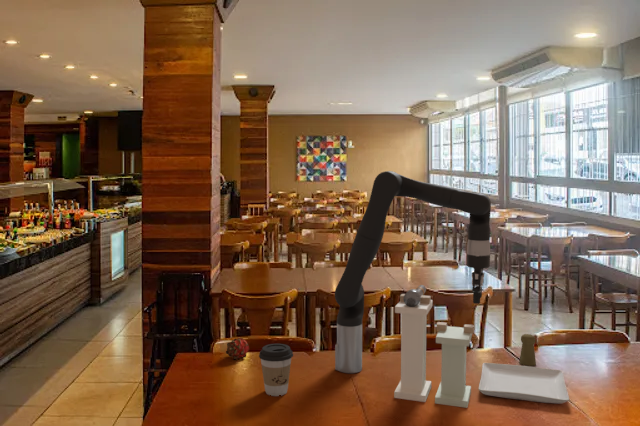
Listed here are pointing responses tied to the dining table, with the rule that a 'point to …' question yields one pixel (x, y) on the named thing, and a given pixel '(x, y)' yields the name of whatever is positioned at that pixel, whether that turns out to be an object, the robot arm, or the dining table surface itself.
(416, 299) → the grey bulb-ended bar
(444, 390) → the low stand
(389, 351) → the dining table surface
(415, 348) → the tall stand
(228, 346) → the dragon fruit
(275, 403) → the dining table surface
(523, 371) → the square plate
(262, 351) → the coffee cup
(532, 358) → the olive pepper mill
